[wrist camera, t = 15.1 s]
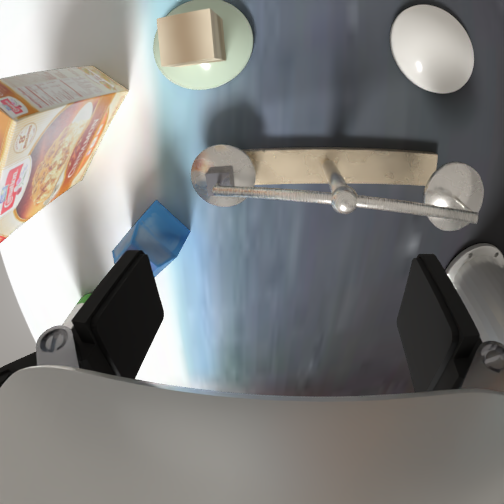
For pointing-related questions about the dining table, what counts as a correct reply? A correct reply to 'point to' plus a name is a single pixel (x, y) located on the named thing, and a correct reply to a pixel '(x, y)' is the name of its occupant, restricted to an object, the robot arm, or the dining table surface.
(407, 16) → the white dish
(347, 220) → the dining table surface
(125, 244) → the perfume bottle
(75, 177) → the coffeecake box
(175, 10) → the sage dish
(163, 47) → the birch block
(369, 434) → the robot arm
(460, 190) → the balance scale
